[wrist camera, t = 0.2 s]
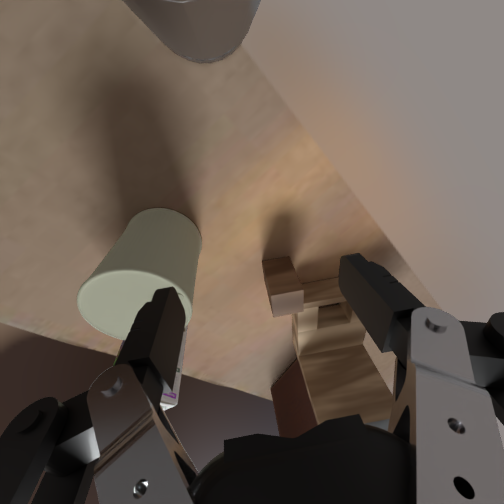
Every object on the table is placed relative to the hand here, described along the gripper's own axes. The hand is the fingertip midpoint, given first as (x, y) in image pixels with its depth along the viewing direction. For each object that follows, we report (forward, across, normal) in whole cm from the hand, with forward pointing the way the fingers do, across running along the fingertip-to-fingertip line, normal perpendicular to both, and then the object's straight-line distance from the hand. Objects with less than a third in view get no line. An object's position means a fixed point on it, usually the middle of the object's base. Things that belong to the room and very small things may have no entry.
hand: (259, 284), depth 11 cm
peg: (+18, -4, +13) cm, 23 cm away
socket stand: (+19, -12, +25) cm, 33 cm away
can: (+18, +10, +5) cm, 21 cm away
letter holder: (+20, -8, +45) cm, 50 cm away
